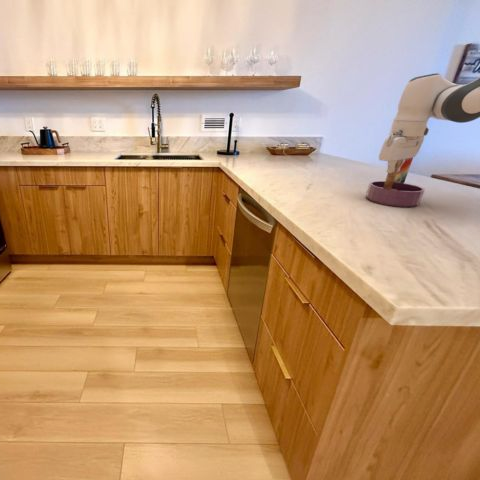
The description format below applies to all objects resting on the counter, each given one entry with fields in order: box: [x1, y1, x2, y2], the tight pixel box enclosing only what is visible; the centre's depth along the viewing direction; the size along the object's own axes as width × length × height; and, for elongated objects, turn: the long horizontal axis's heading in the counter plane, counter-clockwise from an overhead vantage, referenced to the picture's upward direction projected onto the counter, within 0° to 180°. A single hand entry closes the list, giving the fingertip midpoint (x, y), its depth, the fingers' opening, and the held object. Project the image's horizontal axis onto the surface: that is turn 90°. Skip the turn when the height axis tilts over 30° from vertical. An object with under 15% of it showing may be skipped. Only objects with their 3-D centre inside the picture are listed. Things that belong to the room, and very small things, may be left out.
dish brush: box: [381, 161, 401, 190], centre depth 102 cm, size 5×4×13 cm
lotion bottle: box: [394, 157, 414, 183], centre depth 115 cm, size 6×6×20 cm
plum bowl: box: [365, 180, 425, 208], centre depth 102 cm, size 15×15×6 cm
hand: (392, 172), depth 101 cm, fingers closed on dish brush, 2 cm apart
